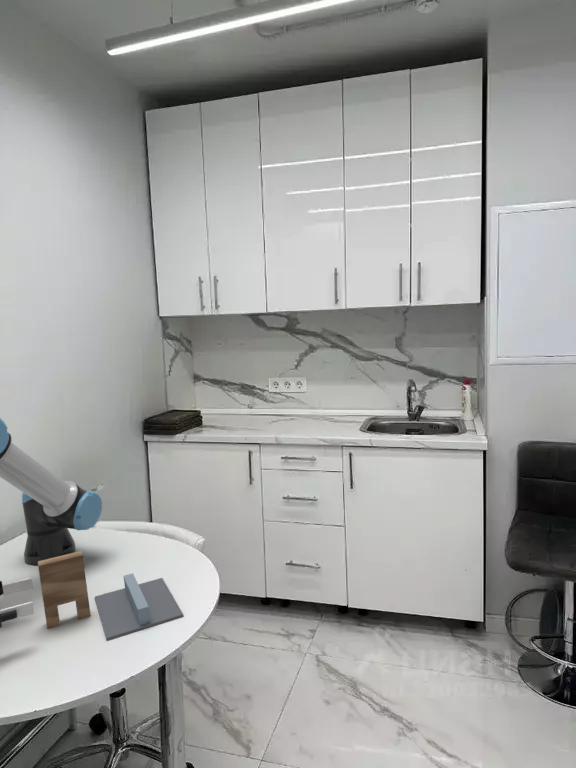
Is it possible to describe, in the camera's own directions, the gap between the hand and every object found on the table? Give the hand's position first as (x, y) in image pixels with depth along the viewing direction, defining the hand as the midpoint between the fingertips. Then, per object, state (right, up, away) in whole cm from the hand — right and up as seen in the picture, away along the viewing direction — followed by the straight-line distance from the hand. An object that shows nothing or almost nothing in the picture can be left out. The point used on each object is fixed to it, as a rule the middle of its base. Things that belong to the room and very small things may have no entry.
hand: (32, 594), depth 131 cm
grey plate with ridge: (+23, -6, +8) cm, 25 cm away
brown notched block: (+7, -8, +5) cm, 11 cm away
